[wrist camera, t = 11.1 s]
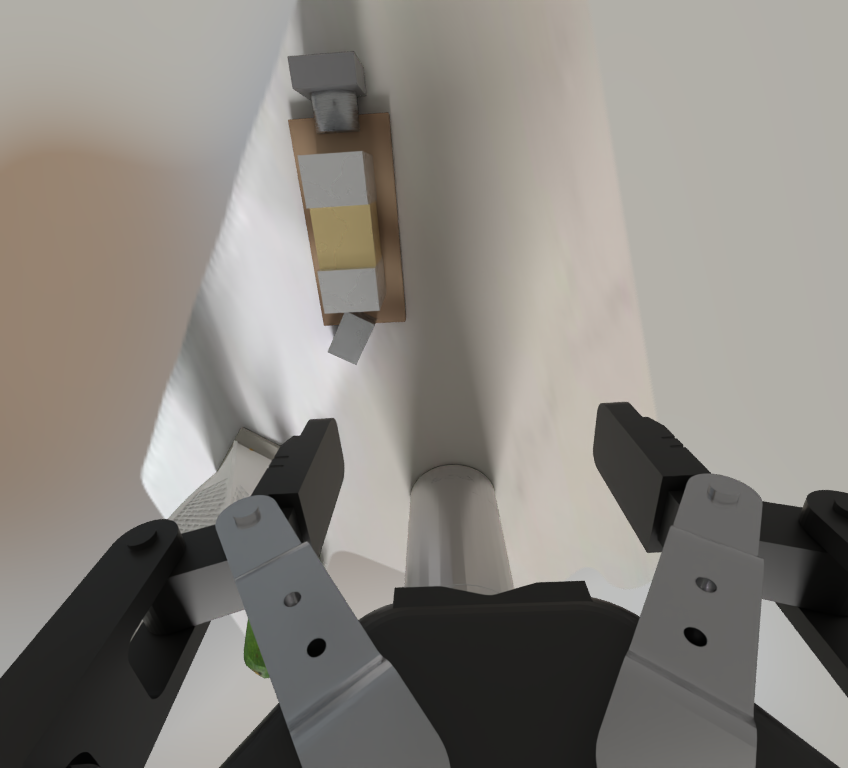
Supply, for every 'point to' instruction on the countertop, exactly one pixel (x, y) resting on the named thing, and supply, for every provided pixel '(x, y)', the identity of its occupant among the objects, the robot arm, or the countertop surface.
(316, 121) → the coupling stand
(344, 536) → the countertop surface
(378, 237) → the gray and yellow block
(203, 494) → the skyscraper
